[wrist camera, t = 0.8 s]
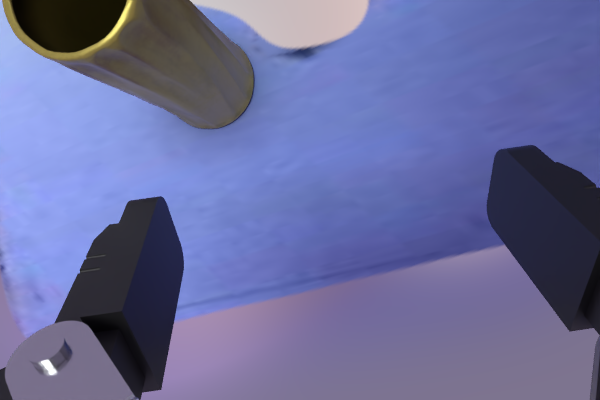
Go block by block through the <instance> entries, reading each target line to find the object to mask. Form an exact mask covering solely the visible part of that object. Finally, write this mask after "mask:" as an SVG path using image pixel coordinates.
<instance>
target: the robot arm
mask: <svg viewBox="0 0 600 400" xmlns="http://www.w3.org/2000/svg"><path fill="white" fill-rule="evenodd" d="M487 214H488V218H489V221H490V224H491V226H492V228H493V229H494V230H495V232H496V233H497V234H498V236H499V237H500V238H501V240H502V241H503V242H504V244H505V245H506V247H507V248H508V249H509V250H510V252H511V253H512V255H513V256H514V257H515V259H516V260H517V261H518V263H519V264H520V265H521V266H522V268H523V269H524V271H525V272H526V273H527V275H528V276H529V277H530V279H531V280H532V281H533V283H534V284H535V285H536V287H537V288H538V290H539V291H540V292H541V294H542V295H543V296H544V298H545V299H546V300H547V301H548V303H549V304H550V306H551V307H552V308H553V310H554V311H555V312H556V314H557V315H558V316H559V318H560V319H561V320H562V322H563V323H564V324H565V326H566V327H567V328H568V330H569V331H575V330H583V329H589V328H594V329H595V330H596V331H597V332H598V334H599V335H600V188H596V185H595V184H594V183H593V182H592V181H591V180H589V179H588V178H587V177H586V176H584V175H583V174H582V173H581V172H579V171H577V170H574V169H572V168H570V167H568V166H565V165H563V164H561V163H559V162H554V161H553V160H551V159H550V158H549V157H548V156H547V155H545V154H544V153H543V152H542V151H541V150H540V149H538V148H537V147H536V146H534V145H528V146H521V147H514V148H507V149H501V150H499V151H498V152H497V153H496V155H495V158H494V163H493V169H492V175H491V181H490V187H489V193H488V200H487ZM86 258H87V259H86V260H84V262H83V264H82V266H81V268H80V274H78V275H77V277H76V279H75V281H74V283H73V285H72V287H71V290H70V292H69V294H68V296H67V298H66V300H65V302H64V304H63V306H62V309H61V311H60V313H59V315H58V317H57V319H56V321H55V323H54V324H52V325H49V326H47V327H45V328H43V329H41V330H39V331H37V332H36V333H34V334H33V335H31V336H30V337H29V338H27V339H26V340H25V341H24V342H23V343H22V344H21V345H20V346H19V347H18V348H17V349H16V350H15V351H14V353H13V354H12V356H11V357H10V359H9V361H8V363H7V366H6V367H5V368H3V369H1V370H0V400H140V399H141V395H142V392H149V391H155V390H161V388H162V382H163V377H164V372H165V366H166V361H167V355H168V350H169V345H170V339H171V334H172V329H173V324H174V318H175V313H176V308H177V302H178V297H179V292H180V287H181V281H182V276H183V270H184V259H183V252H182V247H181V244H180V241H179V238H178V235H177V232H176V229H175V226H174V224H173V221H172V218H171V215H170V212H169V209H168V206H167V203H166V201H165V200H164V198H163V197H161V196H160V197H153V198H146V199H139V200H131V201H129V202H128V203H127V205H126V208H125V210H124V212H123V215H122V217H121V220H120V222H119V223H118V224H111V225H109V226H108V227H107V228H106V229H105V230H104V231H103V232H102V233H101V234H99V235H98V236H97V237H96V238H95V239H94V241H93V243H92V245H91V247H90V249H89V251H88V254H87V256H86ZM590 400H600V336H599V338H598V340H597V342H596V346H595V355H594V364H593V373H592V383H591V393H590Z"/></svg>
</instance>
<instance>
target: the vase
mask: <svg viewBox="0 0 600 400" xmlns="http://www.w3.org/2000/svg"><path fill="white" fill-rule="evenodd" d="M2 2H3V7H4V12H5V14H6V17H7V19H8V22H9V24H10V26H11V28H12V30H13V32H14V33H15V35H16V36H17V37H18V38H19V39H20V40H21V41H22V42H23V43H24V44H25V45H27V46H28V47H29V48H31V49H32V50H34V51H35V52H36V53H38V54H40V55H42V56H43V57H45V58H48V59H50V60H53V61H55V62H58V63H60V64H62V65H64V66H65V67H67V68H70V69H72V70H74V71H76V72H79V73H81V74H83V75H86V76H88V77H90V78H93V79H95V80H97V81H100V82H102V83H105V84H107V85H110V86H112V87H115V88H117V89H119V90H121V91H123V92H126V93H128V94H131V95H133V96H136V97H138V98H140V99H142V100H144V101H146V102H148V103H150V104H153V105H155V106H158V107H160V108H163V109H165V110H167V111H168V112H170V113H172V114H174V115H176V116H177V117H179V118H180V119H181V120H183V121H184V122H186V123H187V124H189V125H191V126H193V127H196V128H202V129H214V128H220V127H223V126H225V125H228V124H230V123H231V122H233V121H234V120H236V119H237V118H238V117H239V116H240V115H241V114H242V113H243V112H244V110H245V109H246V107H247V106H248V104H249V102H250V99H251V96H252V92H253V84H254V75H253V69H252V66H251V63H250V61H249V59H248V57H247V55H246V54H245V52H244V51H243V50H242V49H241V48H240V47H239V46H238V45H237V44H235V43H234V42H232V41H231V40H230V39H229V38H228V37H227V36H226V35H225V34H224V33H222V32H221V31H220V30H219V29H218V28H217V27H216V26H215V25H214V24H213V23H212V22H211V21H210V20H209V19H208V18H207V17H206V16H205V15H204V14H203V13H202V12H201V11H200V10H198V9H197V8H196V6H195V5H194V4H193V3H192V2H191V1H190V0H2Z"/></svg>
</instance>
